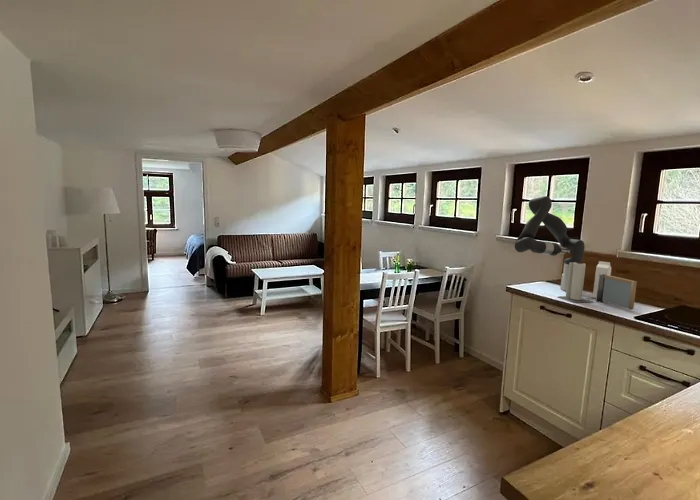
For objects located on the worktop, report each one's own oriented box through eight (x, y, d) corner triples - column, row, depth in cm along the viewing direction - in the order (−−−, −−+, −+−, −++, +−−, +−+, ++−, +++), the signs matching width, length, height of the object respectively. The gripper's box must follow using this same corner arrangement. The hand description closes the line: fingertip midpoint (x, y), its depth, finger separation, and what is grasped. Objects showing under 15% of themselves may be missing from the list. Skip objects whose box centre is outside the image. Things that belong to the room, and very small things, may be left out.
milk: (603, 299, 222) (608, 263, 218) (592, 297, 226) (596, 261, 223) (607, 298, 225) (612, 262, 222) (596, 296, 230) (600, 260, 227)
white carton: (584, 300, 217) (588, 263, 214) (576, 300, 215) (580, 264, 212) (573, 296, 224) (577, 261, 221) (565, 297, 222) (569, 261, 219)
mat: (557, 297, 224) (557, 296, 224) (575, 296, 227) (575, 295, 227) (575, 303, 211) (575, 302, 211) (593, 302, 214) (594, 301, 214)
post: (594, 300, 218) (598, 273, 216) (599, 300, 219) (602, 273, 217) (599, 302, 215) (603, 274, 213) (604, 302, 216) (607, 274, 214)
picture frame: (601, 300, 214) (604, 275, 212) (604, 300, 215) (607, 275, 213) (630, 309, 197) (634, 281, 195) (634, 309, 198) (638, 281, 196)
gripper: (558, 243, 208) (583, 246, 212) (540, 240, 220) (564, 244, 225) (555, 256, 208) (580, 259, 213) (538, 253, 221) (562, 256, 226)
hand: (572, 252), depth 219 cm, fingers closed
